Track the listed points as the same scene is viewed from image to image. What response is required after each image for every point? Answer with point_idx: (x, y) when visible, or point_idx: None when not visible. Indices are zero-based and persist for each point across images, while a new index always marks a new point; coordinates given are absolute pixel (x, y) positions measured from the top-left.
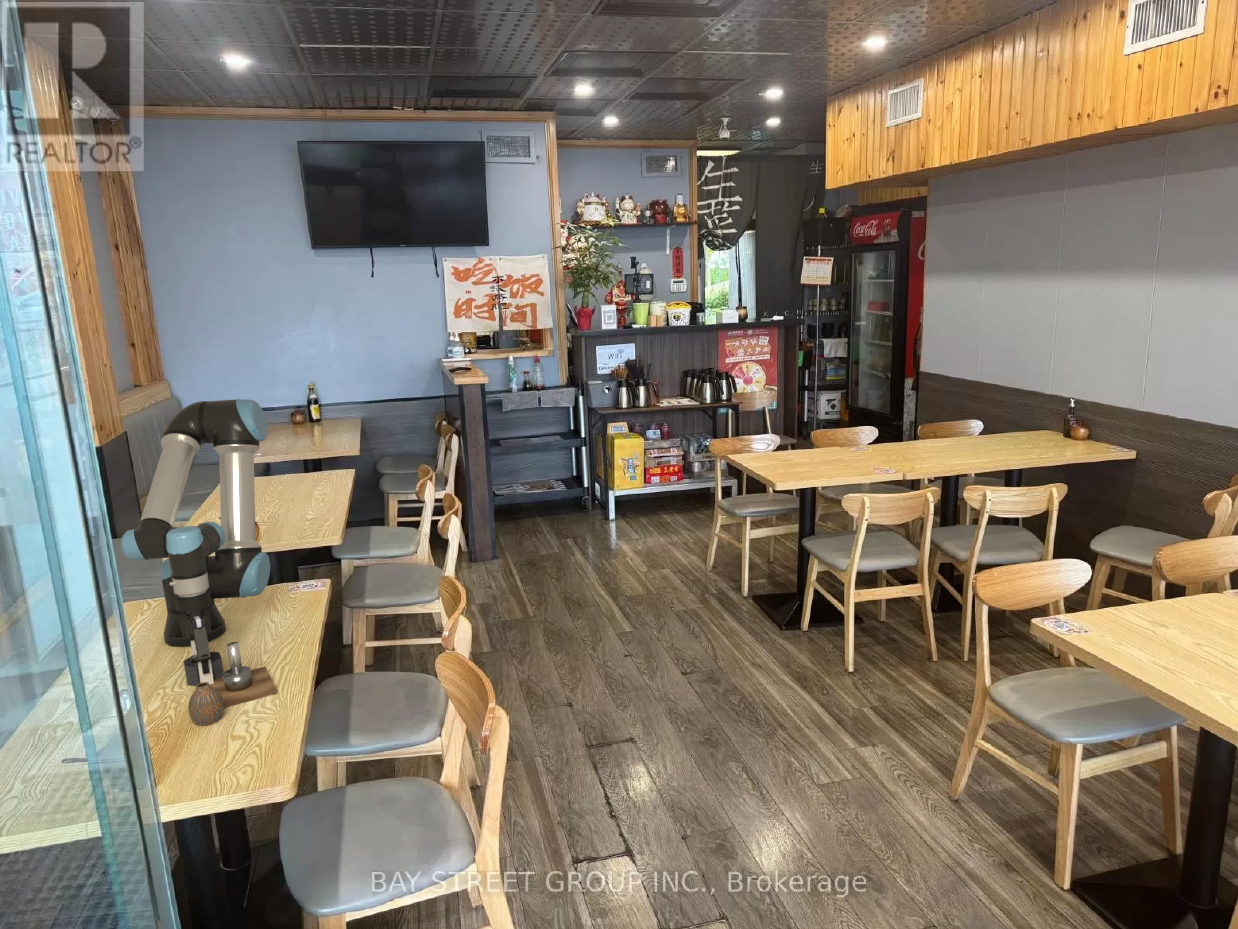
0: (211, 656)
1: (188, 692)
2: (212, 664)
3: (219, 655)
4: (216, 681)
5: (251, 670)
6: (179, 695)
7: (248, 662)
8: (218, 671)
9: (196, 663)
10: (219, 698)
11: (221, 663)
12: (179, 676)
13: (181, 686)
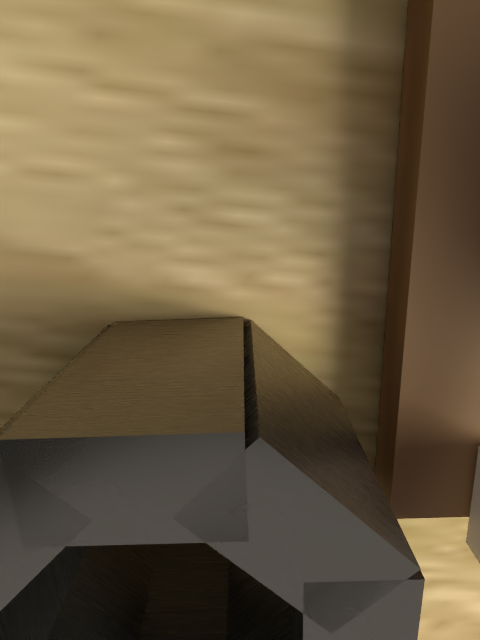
0: (63, 538)
1: None
2: (409, 550)
3: (150, 453)
4: (457, 416)
5: (456, 3)
6: None
7: (10, 26)
8: (311, 400)
9: (79, 630)
10: None
11: (265, 390)
12: None
13: None
